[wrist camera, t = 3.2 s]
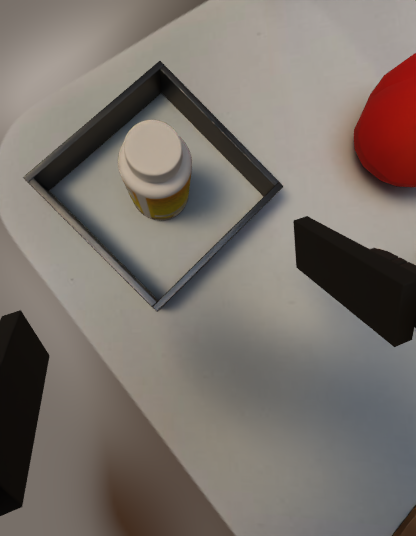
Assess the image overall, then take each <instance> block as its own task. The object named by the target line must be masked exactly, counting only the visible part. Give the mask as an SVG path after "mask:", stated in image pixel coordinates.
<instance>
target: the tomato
mask: <svg viewBox="0 0 416 536" xmlns="http://www.w3.org/2000/svg"><path fill="white" fill-rule="evenodd" d="M354 148H355V151H356V153H357V155H358V157H359V159H360V161H361V163H362V165H363V167H364V168H366V169H367V170H368V171H369V172H370V173H372V174H373V175H374V176H375V177H376V178H378V179H379V180H381V181H383V182H386V183H389V184H392V185H394V186H399V187H416V53H415V54H413V55H412V56H410V57H409V58H408V59H406V60H405V61H404V62H402V63H401V64H399V65H398V66H397V67H395V68H394V69H392V70H391V71H390V72H388V73H387V74H386V75H384V76H383V78H382V79H381V81H380V82H379V83H378V85H377V86H376V87H375V89H374V90H373V92H372V93H371V94H370V96H369V99H368V101H367V103H366V105H365V108H364V110H363V112H362V114H361V116H360V119H359V121H358V123H357V125H356V127H355V129H354Z"/></svg>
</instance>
